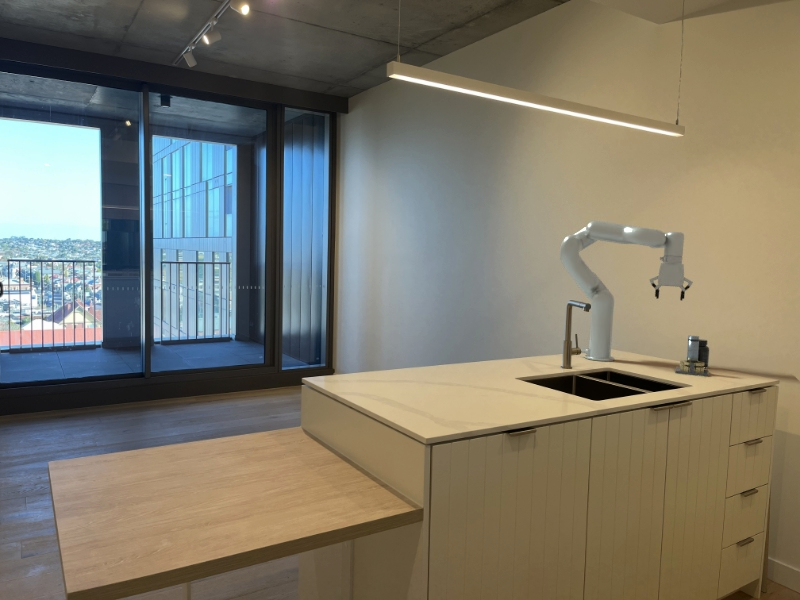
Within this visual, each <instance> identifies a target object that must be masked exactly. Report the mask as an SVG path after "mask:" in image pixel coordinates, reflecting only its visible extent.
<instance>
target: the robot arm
mask: <svg viewBox="0 0 800 600" xmlns="http://www.w3.org/2000/svg"><path fill="white" fill-rule="evenodd" d="M597 241H602V242H608V243H614V244H621V245H629V244H630V245H639V246H646V247H650V248H651V249H663V256H660V257H659V261H661V263H660V266H659V271H658V275H657V276H655V277H652V278H650V279H649V282H650V285H651V286H652V287H653V288H654V289H655V292H654V297H655V298H656V299H657V300H658V299H659V298H660V288H661V287H675V288H677V287H679V288H680V289H681V291H680V297H679V298H680V299H679V300H680V301H683V300H684V299H685V292H686V291H688V290H689V289H690V288H691V287H692V285H693V283H694V282H693V281H692V280H690V279H688V278H686V277H685V266H684V263H683V254H684V245H685V244H684V243H685V234H684V233H683V232H679V231H668V232H663V231H662V230H658V229H654V228H648V227H647V228H646V227H640V226H632V225H627V224H621V223H613V222H608V221H607V222H606V221H601V220H592V221H590V222H588V223H587V225H586V226H585V227H583V228H581V229H580V230H579V231H577V232H576V233H574V234H568V235H567V236H565V238H564V239H563V240H562V242H561V243H560V244H561V245H560V247H559V260H560V261H561V264H562V266H563V267H564V268H565V270H566V272H568V274H569V276H570V277H571V278H572V280H574V282H575V283H576V285H577V286H578V288H579V289H580V290H581V291H582V292H583V293H584V294H585V296H586V297H587V298H588V299H589V301H590V302H591V304H590V306H591V307H590V308H591V309H590V326H589V329H590V330H589V341H588V342H589V343H588V344H589V345H588V348H586V349H585V348H580V349H581V351H582V353H581V354H585V355H584V358H585V359H586V360H592V361H599V362H600V361H601V362H613V361H614V360H615V357H614V356H611V355H612V342H613V341H612V339H613V337H612V336H613V320H614V307H615V298H614V295H613V293H612V292H611V291H610V290H609V289H608V287H607V286H606V285H605V283H604V282H603V281H602V280H601V278H600V277H599V276H598V275H597V274H596V273H595V272H593V271H592V269H590V267H589V266H588V265H587V264H586V262H585V261H584V260H583V258H582V257H581V255H580V252H581V251H584V249H586V248H588V247H590V246H591V245H593V244H594V243H596V242H597ZM656 280H657V285H656V284H655V281H656ZM684 282H685V283H687V285H686V286H685V287H684V286H683V285H684V284H685V283H684Z"/></svg>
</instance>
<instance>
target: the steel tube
mask: <svg viewBox="0 0 800 600" xmlns="http://www.w3.org/2000/svg"><path fill="white" fill-rule="evenodd" d="M699 339H700V336H698V335H688V336H687V351H686V360H687V362H691V363H698V347H699ZM686 366H689V367H690V365H686ZM694 367H697V366H694Z"/></svg>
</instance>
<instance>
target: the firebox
mask: <svg viewBox="0 0 800 600" xmlns="http://www.w3.org/2000/svg"><path fill="white" fill-rule="evenodd" d="M679 361H680V362H679V363H680V364H679V366H676V367H675V370H674V371H675V372H674V373H675V374H680V375H690V376H698V375H699V377H700V376H701V377H709V370H708V369H705V368H704V367H703V366H704V362H700V361H698V363H691V362H687V359H681V360H679ZM686 365H690V367H689V366H686ZM694 366H697V367H694Z"/></svg>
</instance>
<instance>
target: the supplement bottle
mask: <svg viewBox="0 0 800 600" xmlns="http://www.w3.org/2000/svg"><path fill="white" fill-rule="evenodd" d="M709 359H710V347H709V346H708V340H707V339H701V338H699V347H698V361H700V362H704V366H703V367H709V363H710V362H709Z"/></svg>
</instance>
